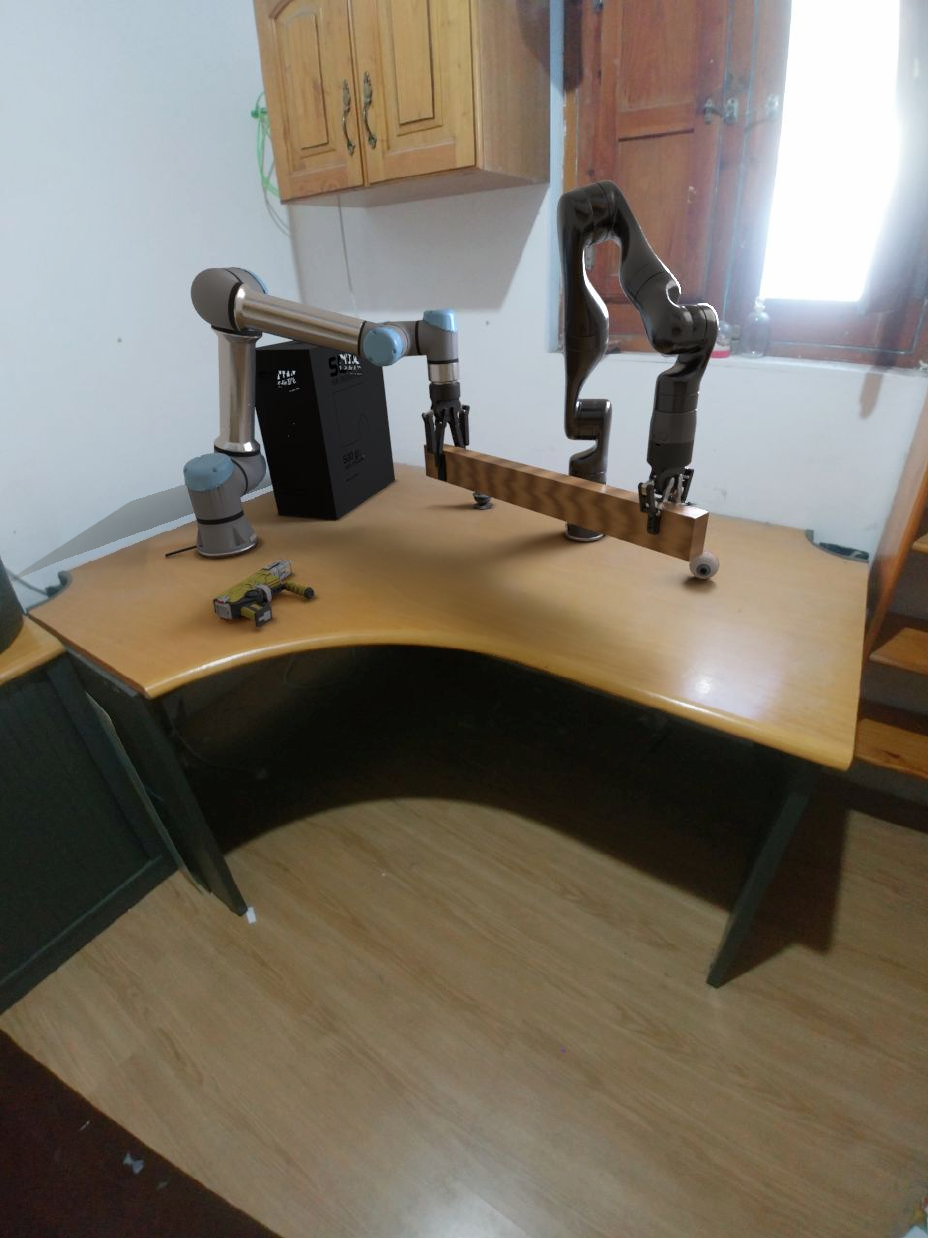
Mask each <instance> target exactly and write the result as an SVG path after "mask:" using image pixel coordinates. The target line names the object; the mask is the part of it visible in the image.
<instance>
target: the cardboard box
mask: <svg viewBox="0 0 928 1238" xmlns="http://www.w3.org/2000/svg"><path fill="white" fill-rule="evenodd" d="M341 356H342V357H341ZM355 359H356V361H355ZM357 362H358V363H357ZM385 385H386V384H385V377H384V366H383V367H381V366H376V365H374V364H373V363H371V362H370V361H369V360H367V359H363V358H360V357H357V356H353V355H349V354H345V353H341V352H337V351H333V350H329V349H326V348H322V347H318V346H314V345H310V344H306V343H302V342H298V341H294V340H288V341H282V342H278V343H273V344H267V345H262V346H256V364H255V414H256V417H257V422H258V427H259V431H260V436H261V441H262V446H263V450H264V454H265V455H264V456H265V461H266V465H267V468H268V473H269V477H270V482H271V487H272V492H273V496H274V497H273V498H274V501H275V506H276V510H277V514H278V515H280V516H292V517H303V518H312V519H313V518H314V519H324V520H335V521H336V520H339V519H340V518H342V517H344V516H345V515H346V514H348V513H350V512H351V511H352V510H354V509H356V508H357V507H358V506H360V505H361V504H363V503H364V502H365V501H367V500H368V499H370V498H372V497H373V496H374V495H376V494H377V493H379V492H380V491H382V490H384V489H385V488H387V486H389V485H390V484H392V483H394V482H395V481H396V476H395V468H394V467H395V466H394V459H393V449H392V448H393V447H392V440H391V431H390V430H391V429H390V422H389V413H388V405H387V404H388V403H387V395H386V388H385V387H386V386H385Z"/></svg>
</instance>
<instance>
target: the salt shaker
mask: <svg viewBox="0 0 928 1238" xmlns="http://www.w3.org/2000/svg"><path fill="white" fill-rule="evenodd" d="M472 497H473V500H474V501H475V502H476V503H475V504H474V505H473V508H475V509H479V510H486V509H490V508H492V507H493V504H492V503H490V501H491V500H492V497H489V496H486V495H483V494H480V493H477V492H474V491H473V493H472Z"/></svg>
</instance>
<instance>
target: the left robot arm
mask: <svg viewBox="0 0 928 1238" xmlns="http://www.w3.org/2000/svg"><path fill="white" fill-rule="evenodd" d="M190 299H191V303H192V305H193V308H194V310H195V312H196V313H197V314H198V316H199V317H200V318H201V319H202V320H203V321H205V322H206V323H208V324H209V325H210V329H211V330H212V332H213V333H214V334H215V335H216V336H217V352H218V353H217V355H218V356H217V357H218V358H217V359H218V361H217V362H218V409H219V414H218V415H219V435H218V436H217V437H216V438H215V439H214V440H213V452H212V453H211V452H210V453H205V454H201V455H200V456H195V457H193V458H191V459H190V460H188V461H187V462H186V463H185V464H184V465H183V468H182V472H183V477H184V478H183V479H184V485H185V486H186V490H187V492H188V495H189V499H190V502H191V506H192V509H193V513H194V517H195V520H196V523H197V531H196V545H192V546H188V547H185V548H182V549H177V550H175V551H171V552H168V553H165V554H164V556H165V558H167V557H170V556H174V555H178V554H180V553H185V552H187V551H192V550H195V549H196V550H197V554H198V555H199V556H200V557H201V558H204V559H208V560H224V559H225V560H226V559H230V558H235V557H240V556H243V555H245V554H247V553H249V552H251V551H253V550H254V549H256V548H257V547H258V546H259V538H258V535H257V533H256V531H255V530H254V528H253V526H252V525H251V522H250V521H249V520H248V519H247V517H246V515H245V510H244V507H243V504H242V499H241V498H242V497H244V496H245V495H246V494H248V493H250V492H251V491H252V490H255V488H257V487H258V486H259V485H260V484H261V483H262V482H263V480H264V479H265V476H266V474H267V460H266V457H265V455H263V454H262V452H261V443H260V442H259V441H257V439H256V437H255V436H256V409H255V364H256V347H257V342H258V341H259V340H261V338H263V333H264V334H268V335H272V336H276V337H279V338H283V339H287V340H290V341H292V340H294V341H298V342H302V343H306V344H310V345H314V346H318V347H322V348H326V349H329V350H333V351H337V352H341V353H345V354H346V355H347V354H348V355H349V356H351V355H353V356H357V357H360V358H363V359H367V360H369V361H370V362H371V363H373V364H374V365H376V366H381V367H383V368H384V367H390V366H393V365H394V364H396V363H397V362H398V361H399V360H401V359H403V358H404V357H418V356H419V357H424V356H426V367H427V378H428V382H429V384H428V390H429V391H428V392H429V399H430V402H431V404H430V409H429V410H428V411H427V412H422V413H421V418H422V421H423V424H424V425H423V426H424V437H425V444H426V446H427V452H428V453H430V454H434V458H435V467H436V468H437V469H438V479H439V480H438V481H440V480H442V481H441V482H443V481H447V473H446V458H445V455H443V454H442V453H443V444H444V443H445V435H446V434H445V433H446V428H447V427H448V426H449V429H450V434H451V438H452V442H453V446H456V447H460V448H464V449H467V447H469V445H470V424H469V423H470V421H469V414H470V410H471V406H470V405H469V404H468V405H467V404H462V403H461V400H460V398H461V382H460V381H459V380H460V379H461V374H460V360H459V336H458V333H459V331H458V325H457V315H456V311H454V310H453V309H452V308H437V309H427V310H424V311H423V314H422V319H417V320H397V321H396V320H395V321H391V320H386V321H382V322H374V321H369V320H365V319H362V318H358V317H354V316H351V315H346V314H343V313H339V312H335V311H331V310H329V309H328V310H327V309H324V308H321V307H317V306H312V305H308V304H305V303H301V302H297V301H293V300H289V299H286V298H282V297H279V296H274V295H270V292H269V289H268V288H267V286H266V284H265V283H264V281H263V280H262V279H261V277H260V276H259V275H257V274H256V273H255V272H253V271H251V270H250V269H246V268H241V267H236V266H231V267H210V268H205V269H203V270H201V271H200V272H199V273H198V274H197V275H196V276H195V277H194V279H193V281H192V283H191V286H190Z"/></svg>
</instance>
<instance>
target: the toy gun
mask: <svg viewBox="0 0 928 1238" xmlns="http://www.w3.org/2000/svg"><path fill="white" fill-rule="evenodd" d="M288 567H290V570H289V571H288V570H287V568H288ZM292 568H293V567H292V562H291V560H290V559H285V560H284V558H278V559H277V560H275V561H273V562H272V563H271V564H268V565H267V566H266V567H262V568H260V569H259V570H258V571H256V572H255V573H253V574H251V575H250V576H248V577H245V579H242V580H241V581H240V582H238V583H237V584H235V585H233V586H232V587H230V588H228V589H226V590H225V591H223V592H222V593H220V594H219V595H217V596H215V597H214V598H213V599H212V604H213V612H214V614H215V615H216V616H217V617H218V618H219V620H221V621H222V620H223V621H225V622H226V621H228V620H232V621H235V620H241V619H244V618H247V619H250V620H251V621H253V622H255V627H256V628H260V627H262V626H263V625H265V624H267V623H268V622H269V623H270V622H271V621H272V620H273V619H274V618H273V611H272V610H273V609H272V606H271V605H270V603H272V600H273V599H272V597H274V596H277V595H278V594H280V593H282V592H283V591H287V592H290V593H292V594H295V595H298V596H299V597H304V598H305V599H307V600H310V599H312V598H313V597H314V596H315V590H314V588H313V587H310V586H306V585H304V584H303V585H302V584H301V583H298V582H295V581H293V580H290V579H289V580H286V581H285V582H282V580H285V579H286V578H287V577H288V576H290V575H292V574H293V569H292Z"/></svg>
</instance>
